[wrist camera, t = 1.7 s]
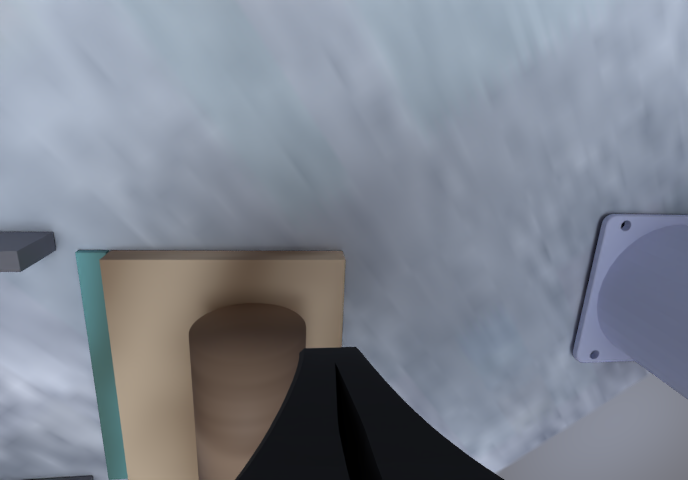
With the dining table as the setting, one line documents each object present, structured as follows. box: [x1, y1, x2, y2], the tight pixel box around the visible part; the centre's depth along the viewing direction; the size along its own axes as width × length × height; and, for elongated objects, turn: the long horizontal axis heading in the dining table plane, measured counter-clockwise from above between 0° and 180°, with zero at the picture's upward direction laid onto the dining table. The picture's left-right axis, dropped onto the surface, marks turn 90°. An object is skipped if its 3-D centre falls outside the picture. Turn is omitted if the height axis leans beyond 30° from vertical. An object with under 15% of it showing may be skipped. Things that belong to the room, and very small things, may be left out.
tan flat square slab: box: [75, 250, 346, 480], centre depth 20 cm, size 11×12×1 cm
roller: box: [189, 303, 306, 480], centre depth 18 cm, size 4×8×4 cm
